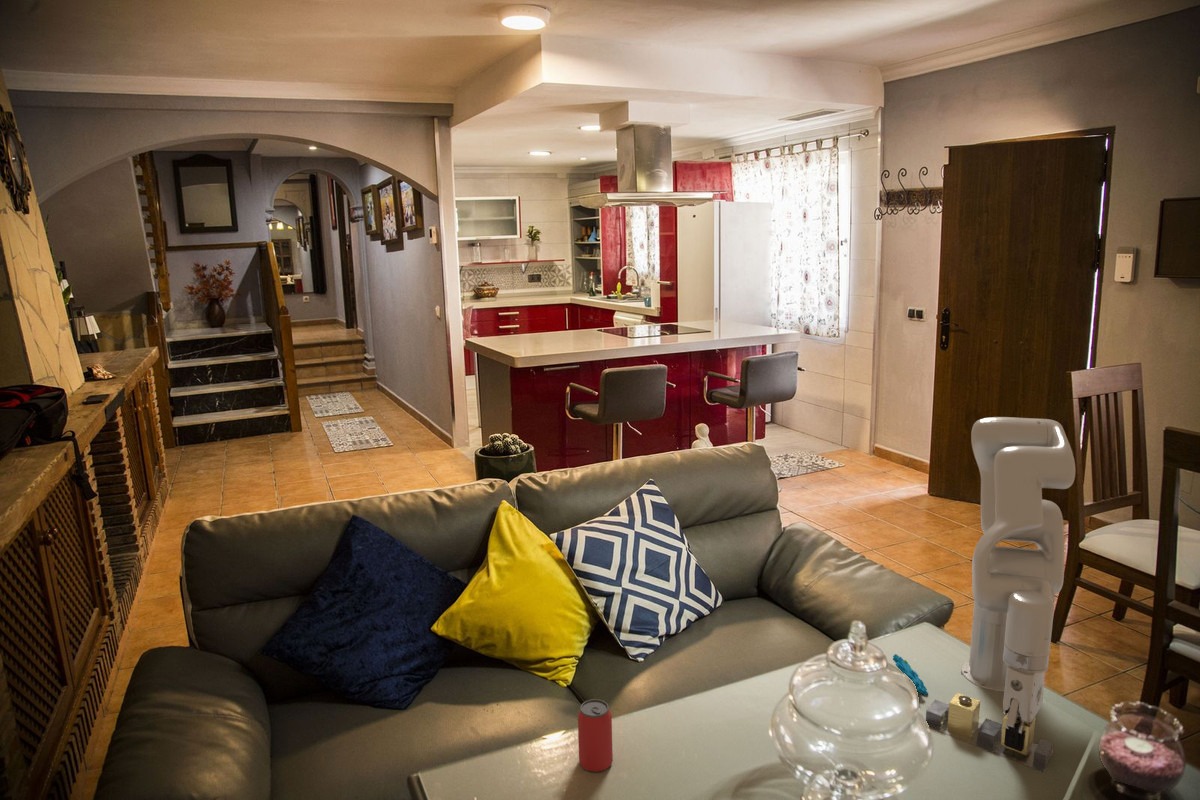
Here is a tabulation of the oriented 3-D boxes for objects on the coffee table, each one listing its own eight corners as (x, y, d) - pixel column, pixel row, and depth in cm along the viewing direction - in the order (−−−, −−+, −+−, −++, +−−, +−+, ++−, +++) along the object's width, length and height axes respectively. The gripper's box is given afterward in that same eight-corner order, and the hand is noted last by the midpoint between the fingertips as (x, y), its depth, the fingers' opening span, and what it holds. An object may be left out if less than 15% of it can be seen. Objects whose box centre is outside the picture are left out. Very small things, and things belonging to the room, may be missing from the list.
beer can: (588, 778, 148) (586, 721, 145) (573, 758, 154) (571, 703, 151) (618, 766, 151) (617, 711, 148) (603, 747, 157) (601, 693, 154)
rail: (936, 711, 166) (937, 696, 165) (1053, 755, 151) (1055, 739, 150) (922, 729, 160) (923, 713, 159) (1042, 776, 145) (1044, 760, 144)
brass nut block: (1032, 743, 152) (1036, 713, 150) (1026, 755, 148) (1029, 724, 147) (1007, 734, 155) (1010, 704, 153) (1000, 745, 151) (1003, 715, 150)
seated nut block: (955, 718, 161) (957, 689, 160) (978, 727, 158) (980, 698, 157) (947, 729, 158) (949, 699, 157) (970, 738, 155) (973, 708, 154)
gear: (934, 698, 167) (900, 663, 168) (912, 715, 168) (878, 679, 170) (926, 677, 178) (894, 644, 179) (905, 693, 179) (874, 659, 180)
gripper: (1035, 682, 139) (1026, 772, 143) (1059, 644, 151) (1050, 728, 155) (990, 667, 144) (982, 754, 148) (1016, 632, 156) (1009, 713, 160)
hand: (1017, 740), depth 151 cm, fingers closed on brass nut block, 4 cm apart
